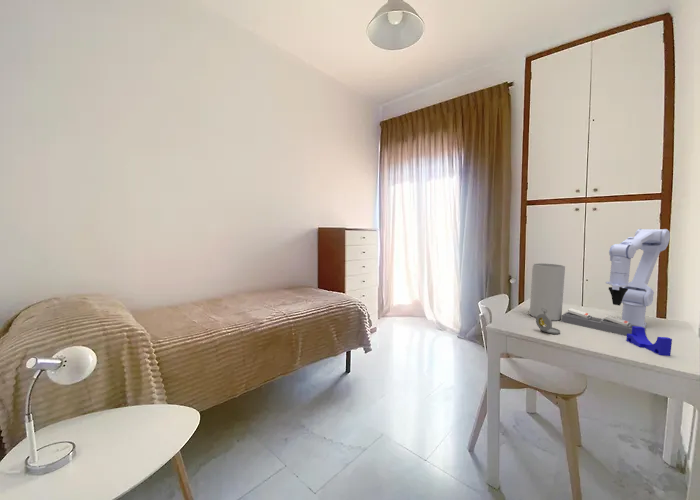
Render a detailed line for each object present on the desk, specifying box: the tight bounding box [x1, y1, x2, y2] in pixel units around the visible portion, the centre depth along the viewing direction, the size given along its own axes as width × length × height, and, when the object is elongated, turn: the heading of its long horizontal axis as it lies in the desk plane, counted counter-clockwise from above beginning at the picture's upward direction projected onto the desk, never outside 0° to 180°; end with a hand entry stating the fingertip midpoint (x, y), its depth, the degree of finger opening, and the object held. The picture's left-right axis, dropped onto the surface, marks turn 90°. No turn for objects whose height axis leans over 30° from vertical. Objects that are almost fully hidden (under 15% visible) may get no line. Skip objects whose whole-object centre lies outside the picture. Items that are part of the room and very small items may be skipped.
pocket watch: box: [535, 308, 561, 335], centre depth 115 cm, size 8×8×10 cm
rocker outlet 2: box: [604, 314, 629, 326], centre depth 117 cm, size 4×7×2 cm, turn 40°
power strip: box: [561, 311, 647, 337], centre depth 121 cm, size 8×26×4 cm, turn 40°
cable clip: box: [625, 326, 673, 357], centre depth 100 cm, size 12×4×6 cm, turn 170°
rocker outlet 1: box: [567, 307, 591, 318], centre depth 126 cm, size 4×7×2 cm, turn 40°
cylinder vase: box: [529, 262, 566, 322], centre depth 134 cm, size 12×12×25 cm
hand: (616, 304), depth 118 cm, fingers closed
